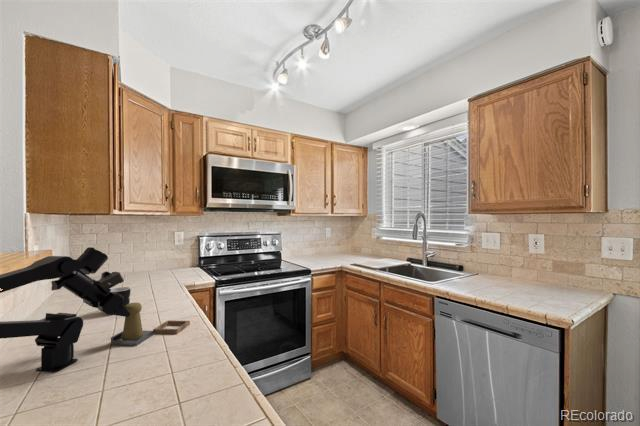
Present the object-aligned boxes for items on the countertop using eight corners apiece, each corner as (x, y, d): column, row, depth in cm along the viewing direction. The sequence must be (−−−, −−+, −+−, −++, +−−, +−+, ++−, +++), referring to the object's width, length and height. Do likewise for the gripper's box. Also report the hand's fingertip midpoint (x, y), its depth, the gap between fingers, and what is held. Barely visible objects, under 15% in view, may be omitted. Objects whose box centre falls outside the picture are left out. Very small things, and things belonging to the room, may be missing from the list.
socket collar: (176, 334, 104) (176, 329, 104) (153, 333, 104) (153, 329, 104) (189, 324, 113) (189, 320, 113) (167, 324, 113) (167, 320, 113)
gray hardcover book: (136, 345, 94) (136, 337, 94) (110, 344, 95) (110, 337, 95) (153, 334, 103) (153, 327, 103) (129, 334, 103) (129, 327, 104)
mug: (132, 311, 129) (132, 289, 129) (108, 316, 122) (108, 292, 123) (125, 306, 137) (125, 284, 137) (102, 310, 131) (102, 288, 131)
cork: (132, 339, 95) (132, 306, 95) (117, 338, 97) (117, 305, 97) (147, 332, 101) (147, 301, 101) (132, 331, 102) (132, 300, 103)
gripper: (116, 267, 87) (154, 296, 96) (95, 262, 98) (131, 288, 107) (83, 299, 81) (127, 327, 89) (64, 290, 91) (105, 315, 100)
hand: (123, 312), depth 96 cm, fingers open, 9 cm apart
